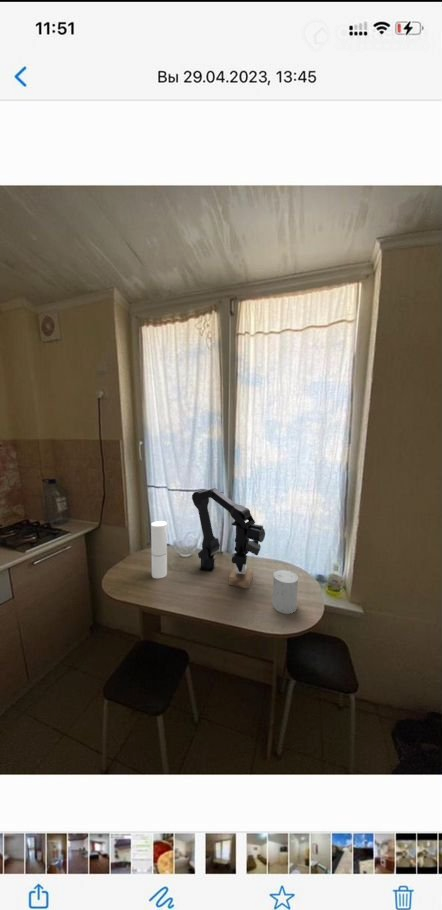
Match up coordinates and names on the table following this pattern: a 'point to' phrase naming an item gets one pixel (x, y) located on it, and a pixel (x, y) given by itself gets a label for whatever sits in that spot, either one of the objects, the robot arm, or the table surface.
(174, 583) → the table surface
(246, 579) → the tan block
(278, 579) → the white cylinder
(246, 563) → the grey cube
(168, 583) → the table surface
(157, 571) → the cylindrical container
